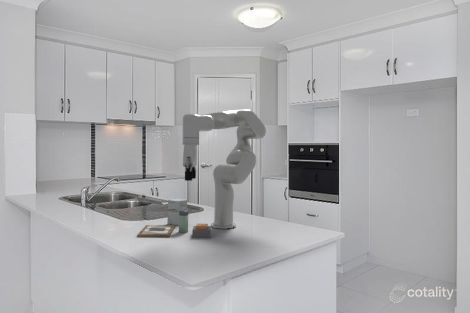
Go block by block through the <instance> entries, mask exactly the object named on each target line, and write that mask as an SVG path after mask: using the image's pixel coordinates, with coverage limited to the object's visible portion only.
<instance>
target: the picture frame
mask: <svg viewBox="0 0 470 313" xmlns="http://www.w3.org/2000/svg"><path fill="white" fill-rule="evenodd" d="M175 228H176V225H172V224H165V225H162V224H157V225H156V224H145V226H144V227H143V228H142V229H141V230H140V231H139V232H138V233H137V235H136V238H170V237H171V235H172V234H173V232H174V230H175Z"/></svg>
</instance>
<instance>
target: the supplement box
mask: <svg viewBox="0 0 470 313" xmlns="http://www.w3.org/2000/svg"><path fill="white" fill-rule="evenodd" d="M179 210H188V199H184V198H183V199H182V198H171V199H168V200H167V224H166V225H175V226H178V227H179Z"/></svg>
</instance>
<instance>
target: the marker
mask: <svg viewBox="0 0 470 313" xmlns="http://www.w3.org/2000/svg"><path fill="white" fill-rule="evenodd" d="M178 233H180V234H186V233H189V210H188V209H187V210H179V226H178Z"/></svg>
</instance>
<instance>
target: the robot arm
mask: <svg viewBox="0 0 470 313" xmlns="http://www.w3.org/2000/svg"><path fill="white" fill-rule="evenodd" d="M235 127H237V128H236V139H237V141H236V144H235V146H234V147H233V149H232V150H230V153H229V154H227V157H226V160H225V163H221V164H217V165H216V166H215V167H214V169H213V171H212V172H213V173H212V174H213V175H212V176H213V181H214V210H213V211H214V213H213V214H214V218H213V219H214V221H213V222H211V224H210V226H211V228H213V229H221V230H225V229H227V228H230V229H234V228H236V227H237V225H236V223H234V196H235V194H234V188H233V186H232V185H241V184H243V183H244V182H245V181H246V180H247V178H248V177H249V176H250V175H251V173H252V171H253V170H254V169H255V166H256V164H257V158H256V155H255V153H254V152H253V151H252V146H251V144H250V141H249V140H259V139H260V140H261V139H263V138H264V137H265V136H266V134H267V129H266V126H265V124H264V123H263V121H262V120H261V119H260V118H259V117H258V115H257V114H256V113H255V112H254V111H253V110H251V109H235V110H234V109H233V110H226V111H225V110H224V111H219V112H213V113H212V112H211V113H205V114H193V113H191V114H190V113H187V114H184V115H183V116H182V145H183V152H182V153H183V155H182V156H183V157H182V166H183V167H184V181H190V182H191V181H193V180H194V179H197V169H196V166H197V163H198V162H197V160H198V146H200V132H210V131H212V130H224V129H225V130H226V129H230V128H235ZM235 226H236V227H235ZM233 227H234V228H233ZM227 230H228V229H227Z"/></svg>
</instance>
